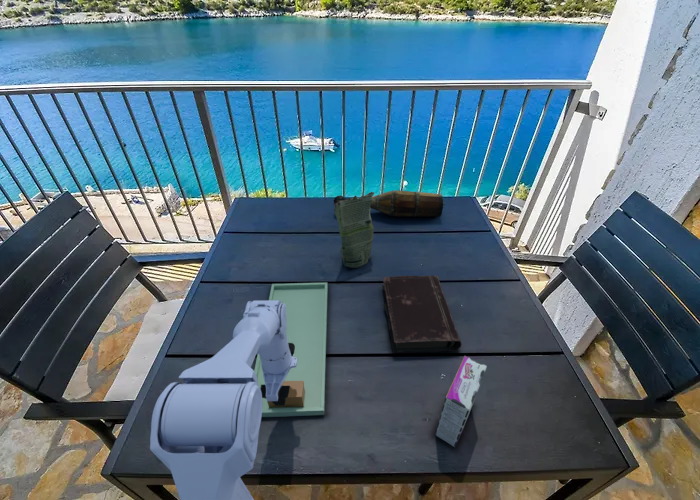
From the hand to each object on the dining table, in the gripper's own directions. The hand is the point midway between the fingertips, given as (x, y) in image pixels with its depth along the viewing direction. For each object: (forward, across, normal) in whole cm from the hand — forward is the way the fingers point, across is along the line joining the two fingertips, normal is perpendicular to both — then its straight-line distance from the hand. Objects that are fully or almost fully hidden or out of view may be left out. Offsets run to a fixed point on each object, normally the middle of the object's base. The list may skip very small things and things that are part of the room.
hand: (282, 386), depth 75 cm
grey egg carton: (+9, -4, -38) cm, 39 cm away
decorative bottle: (+9, +83, -31) cm, 89 cm away
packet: (+8, +2, 0) cm, 9 cm away
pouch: (+9, +54, -17) cm, 58 cm away
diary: (+9, +27, -34) cm, 45 cm away
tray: (+9, +19, 0) cm, 21 cm away
